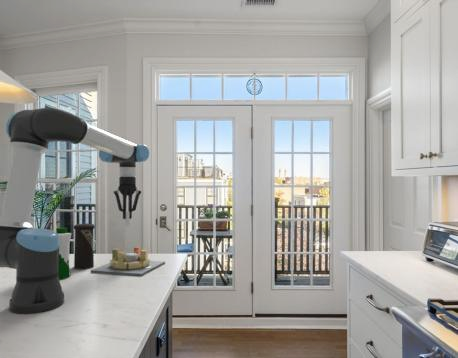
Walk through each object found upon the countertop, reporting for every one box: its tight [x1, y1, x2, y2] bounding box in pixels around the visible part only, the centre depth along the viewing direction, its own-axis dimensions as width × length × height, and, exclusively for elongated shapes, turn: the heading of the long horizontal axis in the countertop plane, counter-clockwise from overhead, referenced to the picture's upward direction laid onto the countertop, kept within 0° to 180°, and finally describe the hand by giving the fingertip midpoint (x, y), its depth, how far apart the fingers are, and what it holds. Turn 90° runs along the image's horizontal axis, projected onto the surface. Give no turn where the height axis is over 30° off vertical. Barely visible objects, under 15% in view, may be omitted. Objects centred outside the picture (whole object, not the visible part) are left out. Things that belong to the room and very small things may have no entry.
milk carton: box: [55, 226, 73, 281], centre depth 142 cm, size 9×9×20 cm
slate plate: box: [90, 252, 166, 277], centre depth 159 cm, size 24×24×6 cm
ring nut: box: [109, 246, 150, 270], centre depth 160 cm, size 17×17×7 cm
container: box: [73, 223, 96, 270], centre depth 161 cm, size 9×9×20 cm
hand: (127, 225), depth 166 cm, fingers closed
